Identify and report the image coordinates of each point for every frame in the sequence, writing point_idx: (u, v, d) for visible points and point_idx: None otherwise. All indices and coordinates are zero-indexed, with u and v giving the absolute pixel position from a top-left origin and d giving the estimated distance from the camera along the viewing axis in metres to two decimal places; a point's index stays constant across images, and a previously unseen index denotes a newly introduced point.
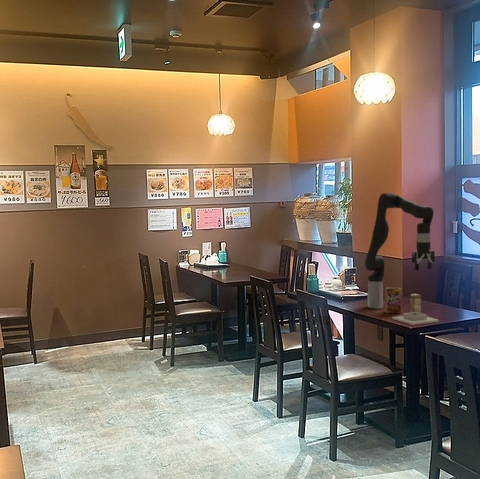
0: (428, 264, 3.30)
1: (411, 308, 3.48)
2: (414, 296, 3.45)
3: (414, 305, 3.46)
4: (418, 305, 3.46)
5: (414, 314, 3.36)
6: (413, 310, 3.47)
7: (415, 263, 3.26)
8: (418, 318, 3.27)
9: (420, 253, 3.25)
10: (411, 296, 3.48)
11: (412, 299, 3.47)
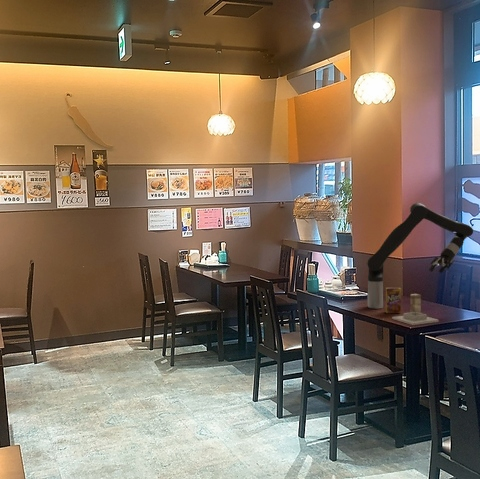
0: (432, 267, 3.55)
1: (411, 308, 3.48)
2: (414, 296, 3.45)
3: (414, 305, 3.46)
4: (418, 305, 3.46)
5: (414, 314, 3.36)
6: (413, 310, 3.47)
7: (445, 267, 3.47)
8: (418, 318, 3.27)
9: None
10: (411, 296, 3.48)
11: (412, 299, 3.47)
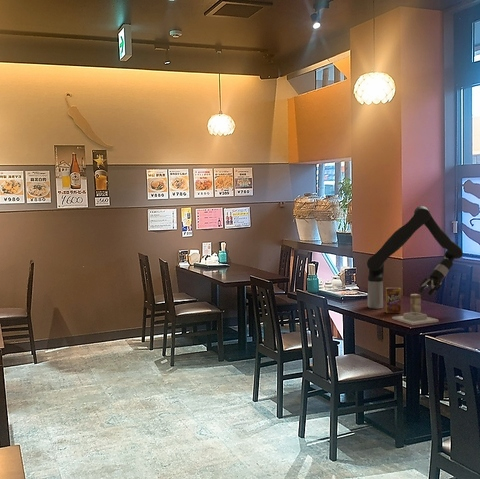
0: (422, 288, 3.54)
1: (411, 308, 3.48)
2: (414, 296, 3.45)
3: (414, 305, 3.46)
4: (418, 305, 3.46)
5: (414, 314, 3.36)
6: (413, 310, 3.47)
7: (434, 289, 3.45)
8: (418, 318, 3.27)
9: None
10: (411, 296, 3.48)
11: (412, 299, 3.47)
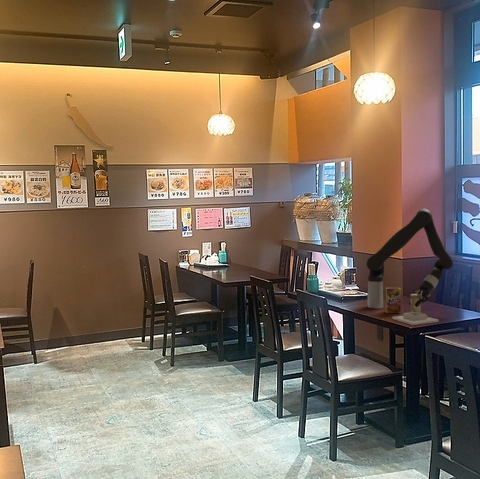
0: None
1: (411, 308, 3.48)
2: (414, 296, 3.45)
3: (414, 305, 3.46)
4: None
5: (414, 314, 3.36)
6: (413, 310, 3.47)
7: (420, 301, 3.44)
8: (418, 318, 3.27)
9: None
10: (411, 296, 3.48)
11: (412, 299, 3.47)
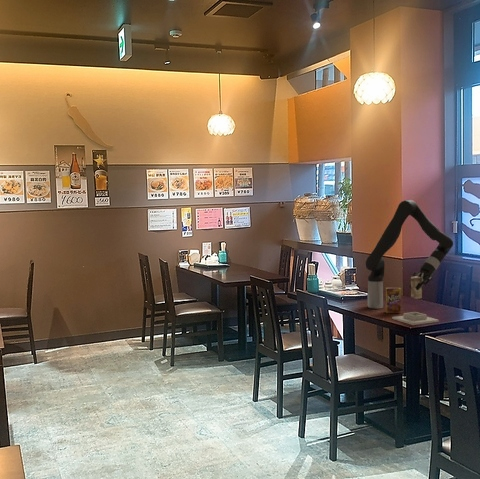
0: None
1: (412, 291, 3.33)
2: (415, 278, 3.30)
3: (414, 287, 3.31)
4: None
5: (414, 314, 3.36)
6: (414, 293, 3.32)
7: (421, 284, 3.29)
8: (418, 318, 3.27)
9: None
10: (412, 279, 3.33)
11: (412, 282, 3.32)
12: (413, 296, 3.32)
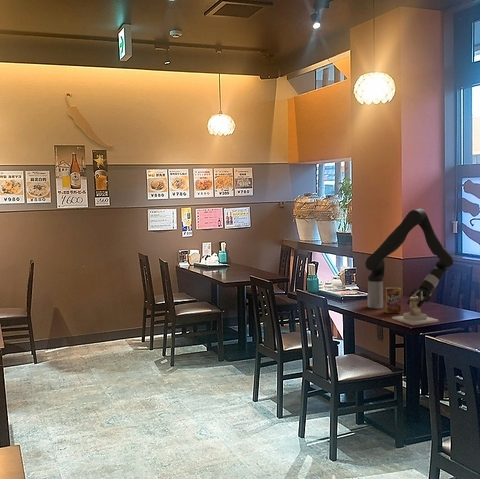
0: None
1: (410, 312, 3.32)
2: (414, 299, 3.29)
3: (413, 308, 3.30)
4: (418, 308, 3.30)
5: None
6: (413, 314, 3.30)
7: (423, 301, 3.27)
8: (418, 318, 3.27)
9: None
10: (410, 299, 3.31)
11: (411, 302, 3.31)
12: None
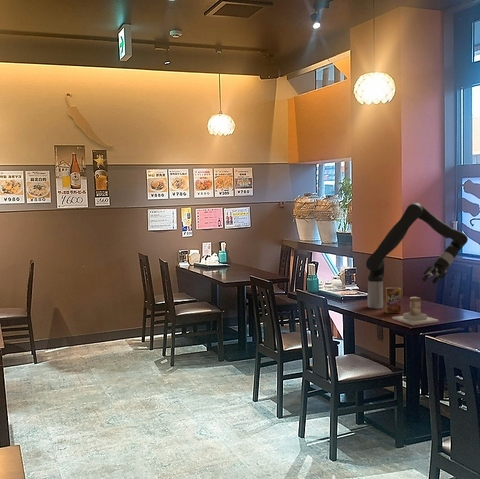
0: (426, 277, 3.41)
1: (410, 312, 3.32)
2: (414, 299, 3.29)
3: (413, 308, 3.30)
4: (418, 308, 3.30)
5: None
6: (413, 314, 3.30)
7: (438, 278, 3.32)
8: (418, 318, 3.27)
9: None
10: (410, 299, 3.31)
11: (411, 302, 3.31)
12: None
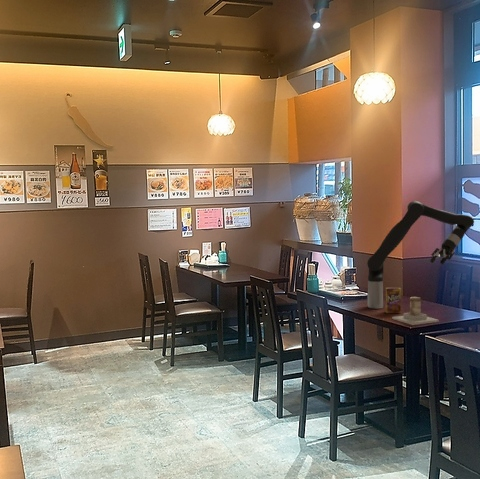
0: (433, 258, 3.52)
1: (410, 312, 3.32)
2: (414, 299, 3.29)
3: (413, 308, 3.30)
4: (418, 308, 3.30)
5: None
6: (413, 314, 3.30)
7: (446, 258, 3.44)
8: (418, 318, 3.27)
9: None
10: (410, 299, 3.31)
11: (411, 302, 3.31)
12: None
